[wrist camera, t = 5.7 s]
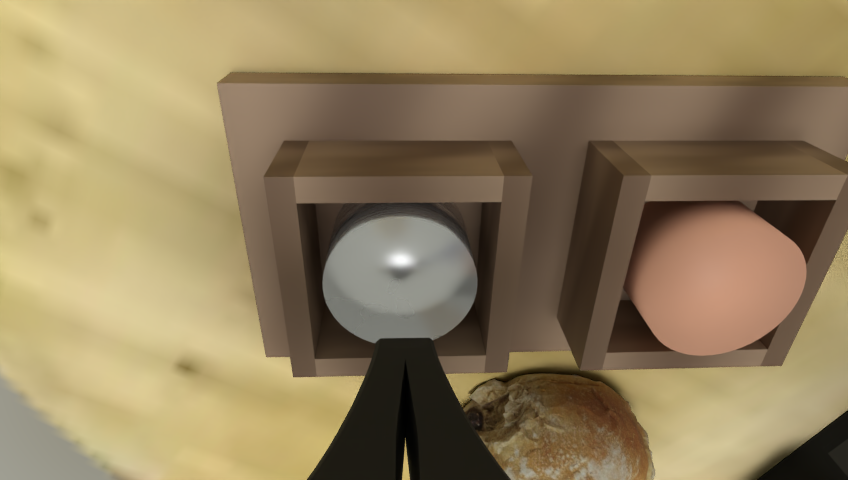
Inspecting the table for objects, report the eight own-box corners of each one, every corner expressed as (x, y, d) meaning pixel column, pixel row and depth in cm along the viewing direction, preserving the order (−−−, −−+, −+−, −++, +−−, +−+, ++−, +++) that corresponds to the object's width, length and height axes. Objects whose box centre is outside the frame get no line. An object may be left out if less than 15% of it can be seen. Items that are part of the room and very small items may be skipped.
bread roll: (539, 301, 27) (518, 376, 20) (696, 434, 26) (736, 564, 19) (429, 413, 31) (377, 511, 23) (563, 533, 30) (553, 673, 22)
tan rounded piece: (767, 185, 17) (833, 227, 15) (723, 300, 20) (773, 354, 17) (627, 185, 17) (669, 229, 15) (600, 302, 20) (632, 357, 17)
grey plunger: (469, 177, 18) (482, 218, 15) (462, 292, 20) (472, 345, 17) (327, 178, 17) (315, 219, 15) (337, 294, 20) (328, 348, 17)
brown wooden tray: (842, 76, 18) (967, 113, 14) (740, 324, 23) (810, 399, 20) (230, 72, 17) (181, 110, 13) (273, 333, 22) (248, 415, 18)
